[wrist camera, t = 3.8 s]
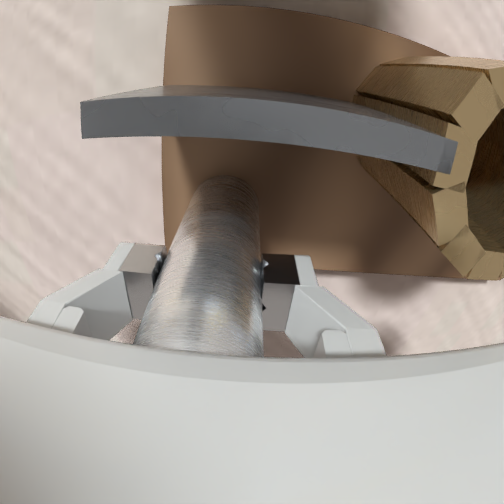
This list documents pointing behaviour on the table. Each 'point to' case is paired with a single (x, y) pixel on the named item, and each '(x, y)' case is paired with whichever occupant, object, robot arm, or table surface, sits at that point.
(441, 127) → the hinge
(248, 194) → the hinge pin
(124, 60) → the table surface
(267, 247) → the walnut base
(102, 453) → the robot arm
